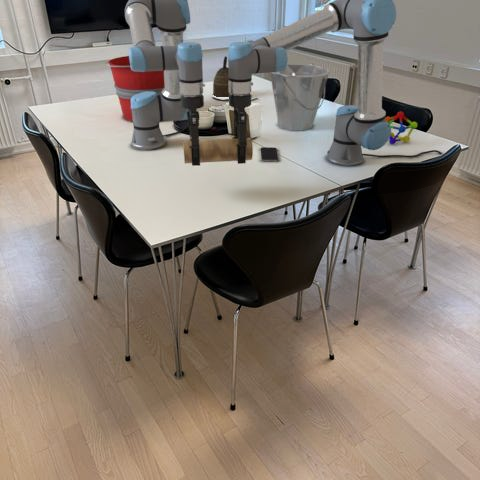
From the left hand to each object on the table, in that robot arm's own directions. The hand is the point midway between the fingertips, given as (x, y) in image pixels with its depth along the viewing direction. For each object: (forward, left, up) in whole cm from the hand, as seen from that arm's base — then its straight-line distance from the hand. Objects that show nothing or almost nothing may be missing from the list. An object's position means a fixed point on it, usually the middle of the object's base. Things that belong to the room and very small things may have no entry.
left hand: (195, 160), depth 156 cm
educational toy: (-66, +83, -13) cm, 107 cm away
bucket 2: (-87, +35, -13) cm, 95 cm away
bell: (-139, -9, -13) cm, 140 cm away
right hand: (-4, +15, 0) cm, 16 cm away
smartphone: (-43, +24, -13) cm, 51 cm away
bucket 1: (-94, -48, -13) cm, 106 cm away
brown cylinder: (-2, +8, -1) cm, 8 cm away
